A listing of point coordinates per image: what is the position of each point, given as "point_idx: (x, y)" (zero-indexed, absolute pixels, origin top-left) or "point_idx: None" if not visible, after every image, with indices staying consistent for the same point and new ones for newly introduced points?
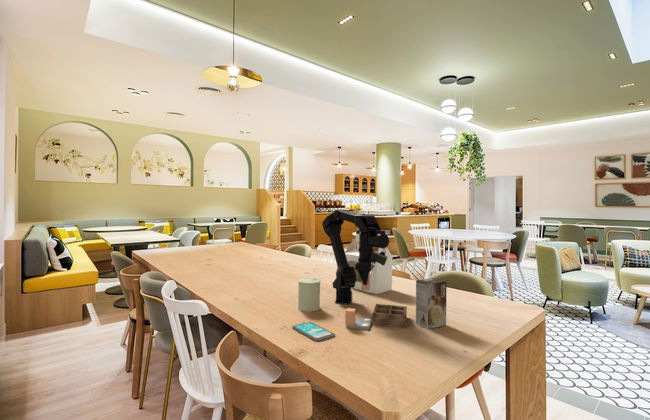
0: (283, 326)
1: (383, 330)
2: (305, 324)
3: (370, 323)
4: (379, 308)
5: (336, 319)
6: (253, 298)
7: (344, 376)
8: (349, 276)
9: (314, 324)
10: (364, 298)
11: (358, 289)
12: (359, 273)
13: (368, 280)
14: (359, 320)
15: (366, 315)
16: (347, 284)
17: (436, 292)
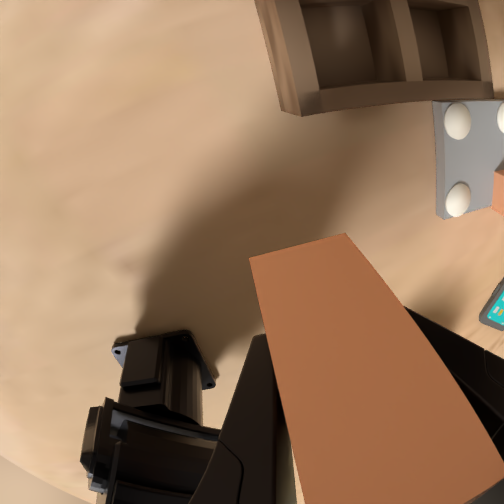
0: (494, 347)
1: (487, 37)
2: (497, 315)
3: (475, 100)
4: (409, 64)
5: (440, 268)
6: None
7: None
8: (188, 493)
9: (497, 296)
10: (31, 302)
11: None
12: None
13: (406, 324)
14: (469, 161)
15: (342, 158)
16: (200, 441)
17: None
